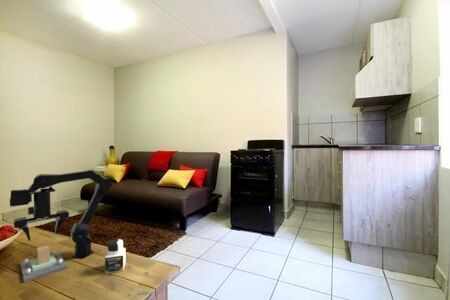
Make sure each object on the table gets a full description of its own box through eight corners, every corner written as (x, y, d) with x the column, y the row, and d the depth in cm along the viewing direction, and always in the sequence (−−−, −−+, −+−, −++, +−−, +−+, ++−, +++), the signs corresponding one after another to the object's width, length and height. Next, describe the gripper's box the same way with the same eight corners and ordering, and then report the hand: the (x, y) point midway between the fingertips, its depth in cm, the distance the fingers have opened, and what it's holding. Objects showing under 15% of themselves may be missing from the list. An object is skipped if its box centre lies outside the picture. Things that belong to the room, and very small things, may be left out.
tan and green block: (56, 263, 98) (56, 247, 98) (32, 271, 92) (32, 254, 92) (53, 257, 104) (53, 242, 103) (30, 264, 98) (30, 248, 98)
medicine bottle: (104, 273, 93) (104, 245, 92) (108, 265, 99) (108, 238, 99) (123, 271, 95) (123, 243, 94) (125, 262, 101) (125, 236, 101)
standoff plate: (67, 268, 97) (66, 261, 97) (24, 282, 87) (23, 274, 87) (59, 254, 109) (59, 247, 109) (20, 265, 99) (20, 258, 99)
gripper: (63, 196, 110) (64, 227, 111) (12, 203, 97) (12, 238, 97) (69, 200, 103) (69, 233, 103) (13, 208, 89) (14, 246, 90)
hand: (43, 237), depth 99 cm, fingers open, 9 cm apart
